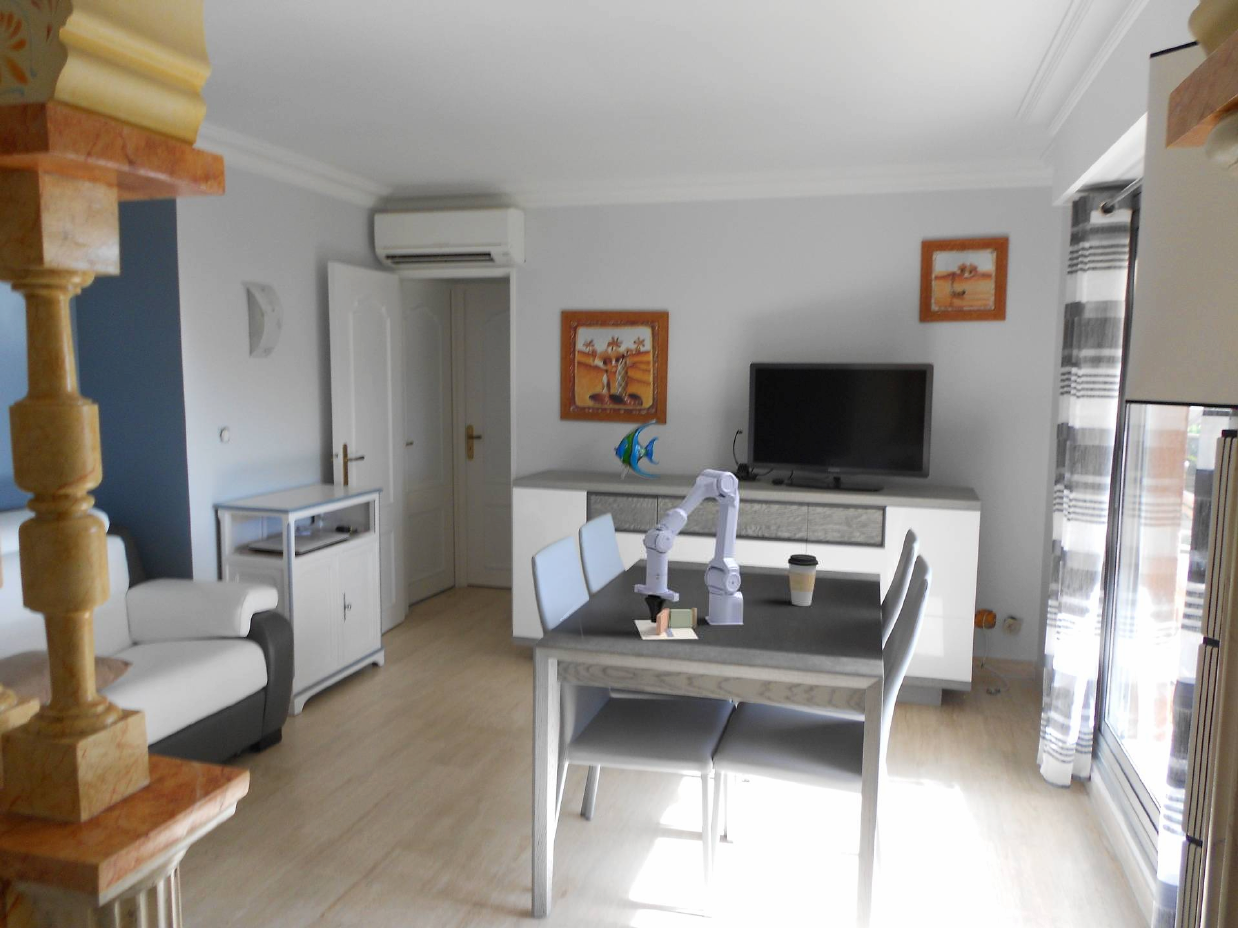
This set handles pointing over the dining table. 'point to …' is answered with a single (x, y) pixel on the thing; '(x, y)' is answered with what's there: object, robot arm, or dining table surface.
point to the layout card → (649, 632)
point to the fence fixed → (683, 618)
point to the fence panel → (663, 621)
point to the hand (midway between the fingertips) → (655, 622)
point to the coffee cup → (802, 578)
